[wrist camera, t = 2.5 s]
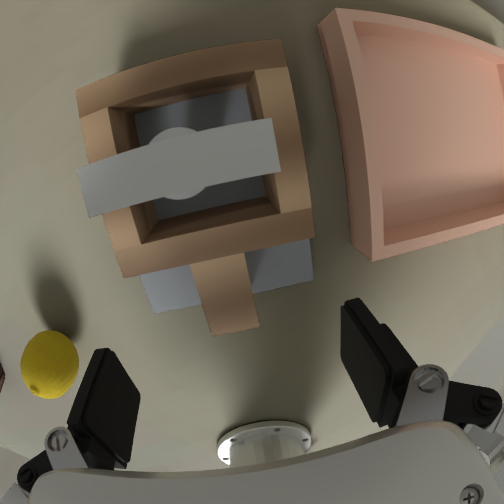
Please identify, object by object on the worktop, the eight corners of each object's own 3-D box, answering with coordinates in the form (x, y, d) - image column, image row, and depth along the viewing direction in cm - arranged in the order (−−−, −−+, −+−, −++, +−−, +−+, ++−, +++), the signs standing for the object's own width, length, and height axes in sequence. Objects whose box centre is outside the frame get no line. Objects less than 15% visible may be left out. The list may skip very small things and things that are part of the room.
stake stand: (99, 101, 17) (-12, 74, 5) (275, 59, 17) (342, -25, 6) (156, 305, 23) (122, 427, 12) (309, 273, 24) (378, 380, 12)
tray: (494, 58, 17) (517, 56, 14) (506, 206, 24) (528, 215, 20) (316, 25, 16) (334, 7, 13) (350, 243, 23) (372, 261, 20)
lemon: (58, 305, 22) (18, 358, 15) (98, 345, 24) (72, 405, 17) (35, 330, 23) (1, 380, 15) (72, 366, 25) (47, 420, 17)
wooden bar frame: (107, 100, 16) (75, 90, 11) (265, 62, 16) (281, 38, 12) (163, 306, 22) (153, 346, 17) (301, 277, 22) (322, 311, 18)
